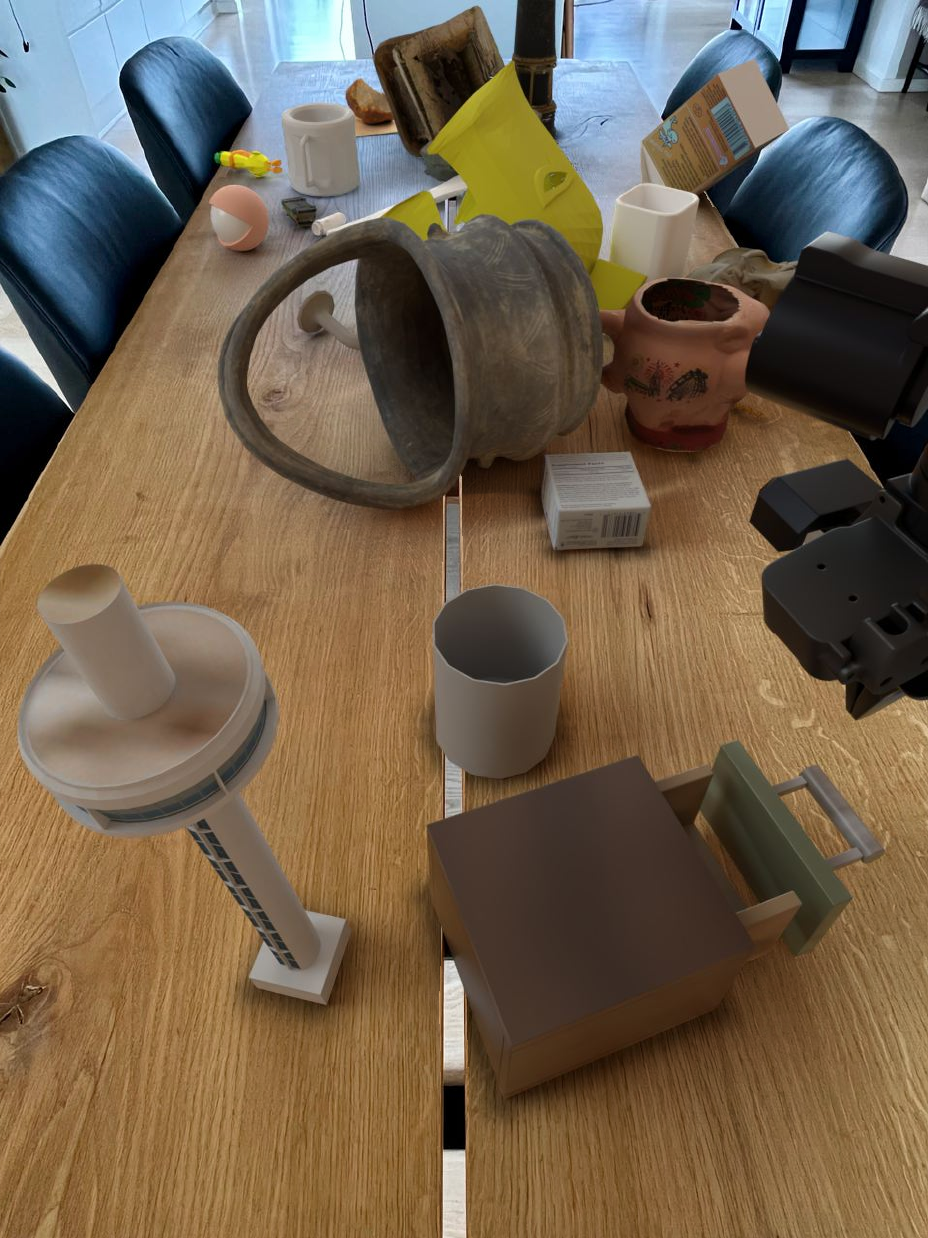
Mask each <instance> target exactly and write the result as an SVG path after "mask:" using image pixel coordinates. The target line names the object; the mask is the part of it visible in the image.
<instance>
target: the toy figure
mask: <svg viewBox="0 0 928 1238" xmlns="http://www.w3.org/2000/svg"><path fill="white" fill-rule="evenodd" d="M214 161H215V163H216V164H218V165H220V166H221V167H226V168H231V169H233V170H242V169H246V170H248V171H249V173H251V174H252V175H253V177H254V178H257V179H258V178H263V177H264V176H265V175H267V174H268V173H269V172H272V173H274V174H281V173H283V167H280V166H281V165H282V160H281V159H276V158H275V159H273V160H272V161H270V160H269V158H268V157H267V156H266V155H264V154H263V151H257V150H253V151H251V152H250V151H248V150H244V149H235V150H232V151H225V150H221V151H220V152H216V153H214Z"/></svg>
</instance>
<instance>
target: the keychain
mask: <svg viewBox="0 0 928 1238" xmlns="http://www.w3.org/2000/svg"><path fill="white" fill-rule="evenodd" d="M732 409H736V410H738V411H741V412H745V413H746V414H748V415H753V416H754V417H755V418H759V419H760V420H764V419H765V417H766V414H765V413H764V412H762V411H761V412H759V413H757V412H755V409H754V408H753V407H752V406H750V405H748V407H747V406H743V405H740V404H738V403H736V404H735V405H734V406H733V408H732Z"/></svg>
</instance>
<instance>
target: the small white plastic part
mask: <svg viewBox="0 0 928 1238" xmlns="http://www.w3.org/2000/svg"><path fill="white" fill-rule="evenodd" d="M346 218H347V217H346V216H345V214H344V213H342V212H339V211H337V212H335V213H333V214H330V215H328V216H325V217H323V218H320V219H315V220H314V221H313V225H312V226H311V231H312V232H313V233H312V234H314V235H315V236H321V237H322V236H323V235H326V232H327V231H328V230H330V229H334V228H337V227H339V226H341V225H344V224H347V223H346V222H347V219H346Z"/></svg>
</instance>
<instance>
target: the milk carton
mask: <svg viewBox="0 0 928 1238" xmlns="http://www.w3.org/2000/svg"><path fill="white" fill-rule="evenodd" d="M789 130H790V127H789V125H788V123H787V121H786V119H785V116H784V115H783V112H782V111H781V109H780V107H779V105H778V103H777V101H776V99H775V97H774V95H773V93H772V91H771V89H770V86H769V84H768V83H767V81H766V79H765V77H764V75H763V72H762V71H761V68H760V67H759V65H758V63H757V61H756V58H752V59H750V60H748V61H745V62H742V63H740V64H738V65H735V66H733V67H730V68H729V69H726V70H724V71H721V72H719V73H717V74H716V75H715V76H714V77H712V78H711V79H710V80H709V81H708V82H707V83H706V84H705V85H703V86H702V87H701V88H700V89H699V90H698V91H696V93H694V94H693V95H692V96H690V98H689V99H687V100H686V101H685V102H684V103H683V104H682V105H681V106H679V107H678V108H677V109H676V110H675V111H673V113H672V114H671V115H669V116H668V117H667V118H666V119H664V121H662V122H661V123H660V124H659V125H658V126H657V127H656V128H654V129H653V131H651V132H650V133H649V134H648V135H646V136H645V137H644V138H643V139H642V140H641V142H640V149H639V173H640V184H644V183H652V184H657V185H662V186H666V187H670V188H674V189H678V190H682V191H686V192H690V193H693V194H695V195H696V196H700V195H701V194H702V193H704V192H706V191H708V190H710V189H711V188H713V187H714V186H715V185H717V184H719V182H721V181H722V180H724V179H725V178H726V177H728V176H729V175H730V174H732V173H733V172H734V171H735V170H737V169H738V168H740V167H741V166H742V165H744V164H745V163H747V162H748V161H749V160H750V159H752V158H753V157H754V156H756V155H757V154H758V153H760V152H761V151H763V150H764V149H765V148H766V147H768V146H769V145H770V144H772V143H773V142H775V141H776V140H777V139H779V138H780V137H782V136H783V135H784V134H786V133H787V132H788V131H789Z"/></svg>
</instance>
